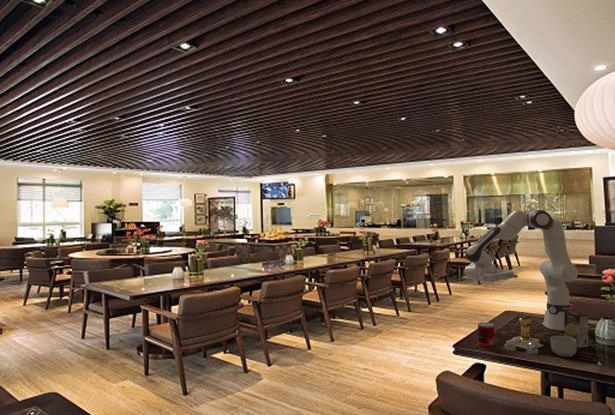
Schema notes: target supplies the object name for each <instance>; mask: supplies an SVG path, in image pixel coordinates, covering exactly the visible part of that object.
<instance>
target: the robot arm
mask: <svg viewBox="0 0 615 415" xmlns="http://www.w3.org/2000/svg"><path fill="white" fill-rule="evenodd" d="M525 227H529V228H532V229H540V230H541V231H542V234H543V237H542V238H543V245H544V252H545V253H546V255H547V256H548V258H549V260H544V261H543V262H541V263H540V265H539V271H540V273H541V275H542V276H543V278H544V281H545V285H546V293H547V302H546V310H545V311H544V318H543V319H544V320H543V321H542V323H541V324H542V325H543V326H544V327H546V328H547V329H550V330H556V331H562V332H563V331H564V312H570V311H572V309H573V308H574V304H572V303H570V291H569V289H568V287H567V286H566V283H567V282H568V283H569V282H573V281H575V280H576V279H577V278H578V275H579V271H578V269H577V268H576V266H575V265H574V264H573V262H572V260H571V258H570V256H569V253H568V250H567V243H566V234H565V229H564V227H563V224H562V222H561V221H560V220H559V219H555V218H552V216H551V215H550V213H549V212H548V211H546V210H542V209H530V210H527V211H523V210H520V209H514V210H513V211H512V212H511V213H509V214H508V215H507V216H506V217H505V218H504V219H503V220H502V222H500V223H499V224H498V225H497V226H493V227H491V228H490V229H488V230H487V231H486V232H485V233H484V234H483V235H482V236H481V237H480V238H479V239H478V240H476V241H475V242H474V243H472V244H471V245H469V246H468V247H467V248H466V249H465V253H464V254H465V255H464V256H465V259H466V260H468V261H469V262H470V264H468V265H466V266H465V268H464V274H465V277H466V278H468V279H470V280H474V281H483V282H484V283H485V282H486V283H487V282H488V283H495V282H496V281H497V282H498V281H502V280H503V281H507V280H508V279H517V278H519V275H518V274H516V273H515V272H514V271H513V270H508V269H504V268H503V269H502V268H501V267H493V266H492V265H493V257H492V256H491V255H490V254H488V253H487V252H486V251H485V248H487V247H488V246H489V245H490V244H491V243H492V242H493V241H494V240H503V241H510V240H511V241H512V240H514V239H515V238H516V236H518V235H519V233H520V232H522V230H523V229H524V228H525ZM565 282H566V283H565Z"/></svg>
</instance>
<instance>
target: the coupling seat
mask: <svg viewBox="0 0 615 415" xmlns="http://www.w3.org/2000/svg"><path fill="white" fill-rule="evenodd" d="M519 337H521V335H519V336H515V337H512V338H511V339H508V340H506V341H505V344H503V349H505V350H507V351H510V352H511V351H512V352H514V351H517V348H522V349H524V350H526V348H530V347H529V346H528V345H527V344H526V341H522V340H521V339H520V338H519ZM530 338H531V339H532V341H531V342H532V343H533V344H534V345H535V347H536V349H539V348H541V347H545V345H544V344H541V343H540V340H539V339H538V338H533V337H530Z"/></svg>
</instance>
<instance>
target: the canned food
mask: <svg viewBox="0 0 615 415" xmlns="http://www.w3.org/2000/svg"><path fill="white" fill-rule="evenodd" d="M477 344H478V346H479V347H481V348H485V349H491V348H493V347H494V346H495V324H493V323H491V322H486V321H484V322H483V321H481V322H478V323H477Z"/></svg>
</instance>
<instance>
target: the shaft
mask: <svg viewBox="0 0 615 415" xmlns="http://www.w3.org/2000/svg"><path fill="white" fill-rule="evenodd" d="M526 344H527V345H528V346H529V347H530V348H526V349H525V350H526V353H527V354H528V355H537V356H538V355H539V350H538V348H536V347H535V345H534V344H533V343H532V342H531V341H530V340H526Z"/></svg>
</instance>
